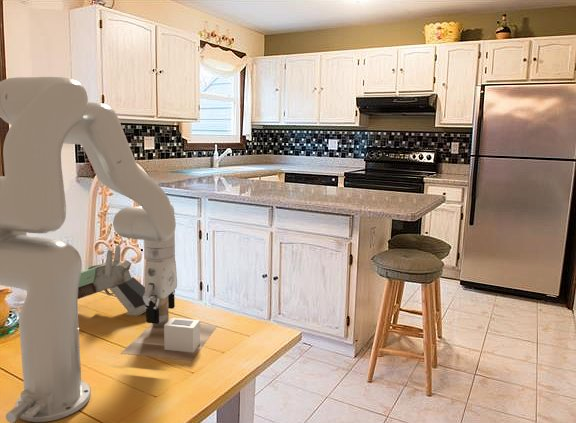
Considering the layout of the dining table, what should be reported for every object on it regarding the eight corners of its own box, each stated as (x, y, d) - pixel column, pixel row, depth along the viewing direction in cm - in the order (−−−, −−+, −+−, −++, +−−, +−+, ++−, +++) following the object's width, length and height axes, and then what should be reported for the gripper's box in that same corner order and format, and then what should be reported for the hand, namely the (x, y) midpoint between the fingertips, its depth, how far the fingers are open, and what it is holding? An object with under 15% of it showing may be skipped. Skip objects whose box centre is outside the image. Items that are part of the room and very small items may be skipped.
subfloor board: (191, 365, 99) (191, 360, 98) (120, 358, 101) (120, 353, 101) (217, 329, 117) (217, 325, 117) (156, 323, 120) (156, 319, 119)
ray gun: (150, 313, 120) (121, 245, 117) (50, 346, 125) (21, 281, 123) (160, 303, 127) (134, 239, 124) (65, 335, 132) (38, 273, 130)
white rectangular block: (193, 352, 102) (193, 327, 101) (164, 349, 103) (164, 324, 102) (199, 343, 107) (199, 319, 106) (172, 340, 108) (171, 317, 106)
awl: (164, 329, 114) (164, 295, 112) (150, 327, 114) (149, 294, 113) (171, 322, 118) (170, 290, 116) (156, 321, 118) (156, 289, 117)
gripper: (159, 262, 104) (160, 330, 107) (186, 244, 121) (186, 304, 124) (129, 260, 105) (131, 327, 108) (160, 242, 122) (161, 301, 125)
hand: (161, 315), depth 116 cm, fingers open, 9 cm apart
